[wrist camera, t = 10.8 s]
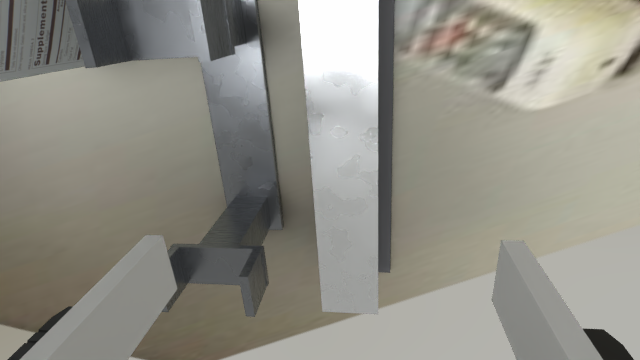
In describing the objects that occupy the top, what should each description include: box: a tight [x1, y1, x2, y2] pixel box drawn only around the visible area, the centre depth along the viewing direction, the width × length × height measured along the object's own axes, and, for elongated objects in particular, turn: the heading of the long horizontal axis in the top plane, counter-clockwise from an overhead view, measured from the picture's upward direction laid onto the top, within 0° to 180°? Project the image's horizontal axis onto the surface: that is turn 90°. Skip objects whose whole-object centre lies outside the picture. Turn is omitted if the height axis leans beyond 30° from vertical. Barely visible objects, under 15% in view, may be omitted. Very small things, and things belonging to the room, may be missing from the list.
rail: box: [298, 0, 378, 314], centre depth 28 cm, size 4×26×6 cm, turn 4°
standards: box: [65, 0, 284, 317], centre depth 26 cm, size 7×20×12 cm, turn 4°
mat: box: [378, 0, 394, 273], centre depth 31 cm, size 6×27×1 cm, turn 4°
